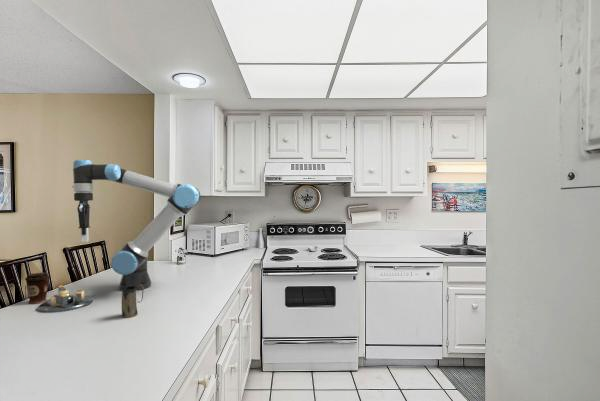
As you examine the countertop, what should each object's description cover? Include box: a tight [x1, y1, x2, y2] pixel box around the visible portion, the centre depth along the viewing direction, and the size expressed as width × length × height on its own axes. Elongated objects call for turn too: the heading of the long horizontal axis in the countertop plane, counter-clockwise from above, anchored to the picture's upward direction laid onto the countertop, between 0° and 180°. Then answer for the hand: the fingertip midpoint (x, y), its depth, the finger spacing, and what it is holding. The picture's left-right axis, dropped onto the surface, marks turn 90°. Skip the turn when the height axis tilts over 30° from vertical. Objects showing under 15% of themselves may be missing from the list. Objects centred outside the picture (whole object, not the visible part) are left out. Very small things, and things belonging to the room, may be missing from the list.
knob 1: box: [58, 284, 70, 295], centre depth 150 cm, size 8×4×5 cm, turn 47°
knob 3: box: [74, 289, 85, 302], centre depth 145 cm, size 8×4×5 cm, turn 33°
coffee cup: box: [24, 272, 50, 305], centre depth 149 cm, size 9×8×13 cm
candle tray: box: [37, 292, 94, 313], centre depth 145 cm, size 20×20×5 cm
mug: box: [121, 285, 144, 319], centre depth 131 cm, size 8×6×12 cm
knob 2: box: [50, 293, 67, 307], centre depth 139 cm, size 8×4×5 cm, turn 65°
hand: (84, 241), depth 156 cm, fingers closed
